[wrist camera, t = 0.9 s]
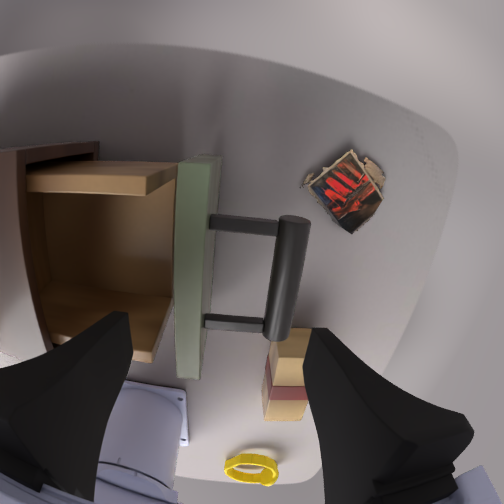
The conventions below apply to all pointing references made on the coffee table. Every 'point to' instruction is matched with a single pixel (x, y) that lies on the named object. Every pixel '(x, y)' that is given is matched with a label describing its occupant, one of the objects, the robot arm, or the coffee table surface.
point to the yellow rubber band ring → (265, 477)
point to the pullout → (148, 252)
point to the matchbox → (348, 191)
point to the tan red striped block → (286, 378)
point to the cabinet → (25, 248)
